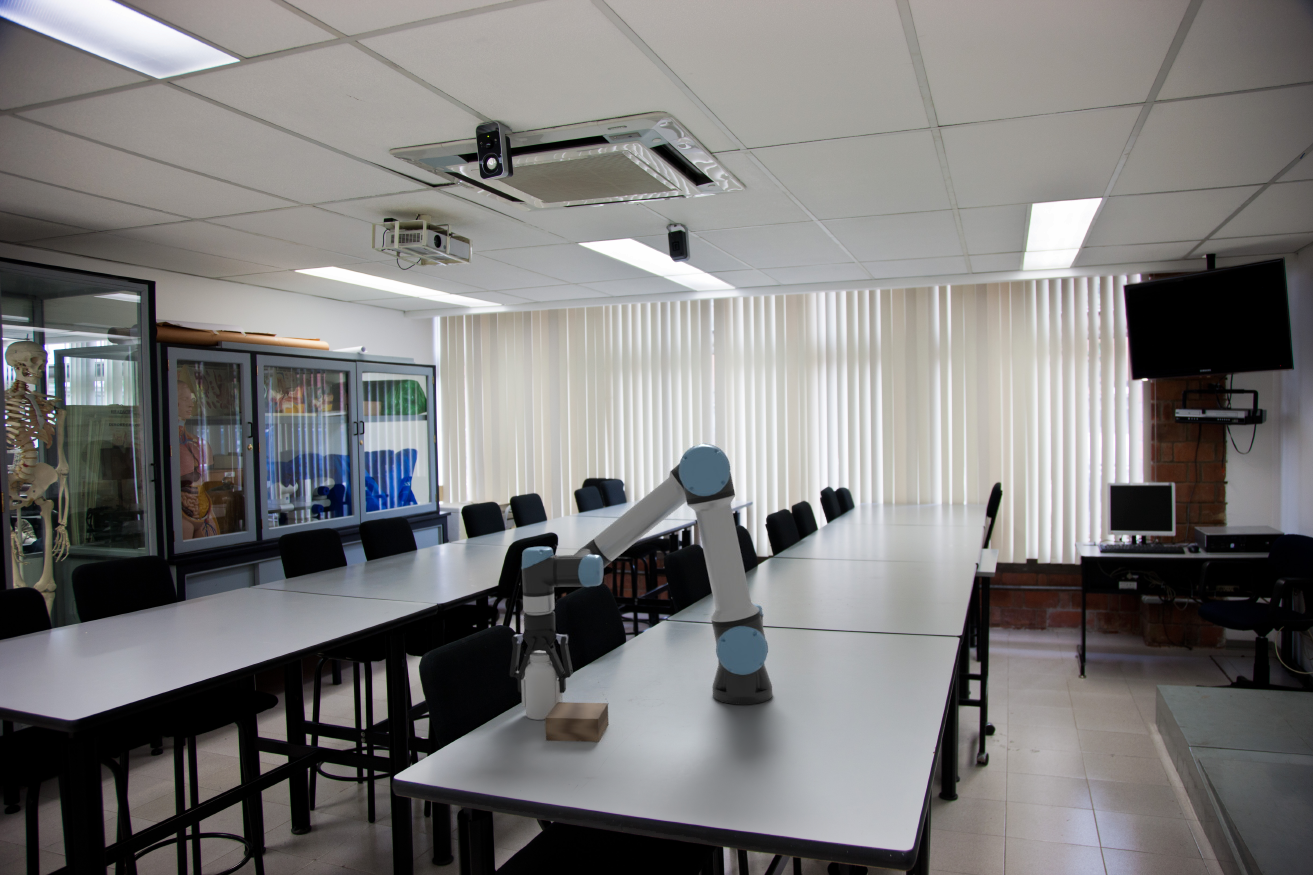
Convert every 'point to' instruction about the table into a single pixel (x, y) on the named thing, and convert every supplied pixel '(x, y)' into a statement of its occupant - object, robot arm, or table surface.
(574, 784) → the table surface
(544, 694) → the pill bottle
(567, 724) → the walnut stand
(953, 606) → the table surface
